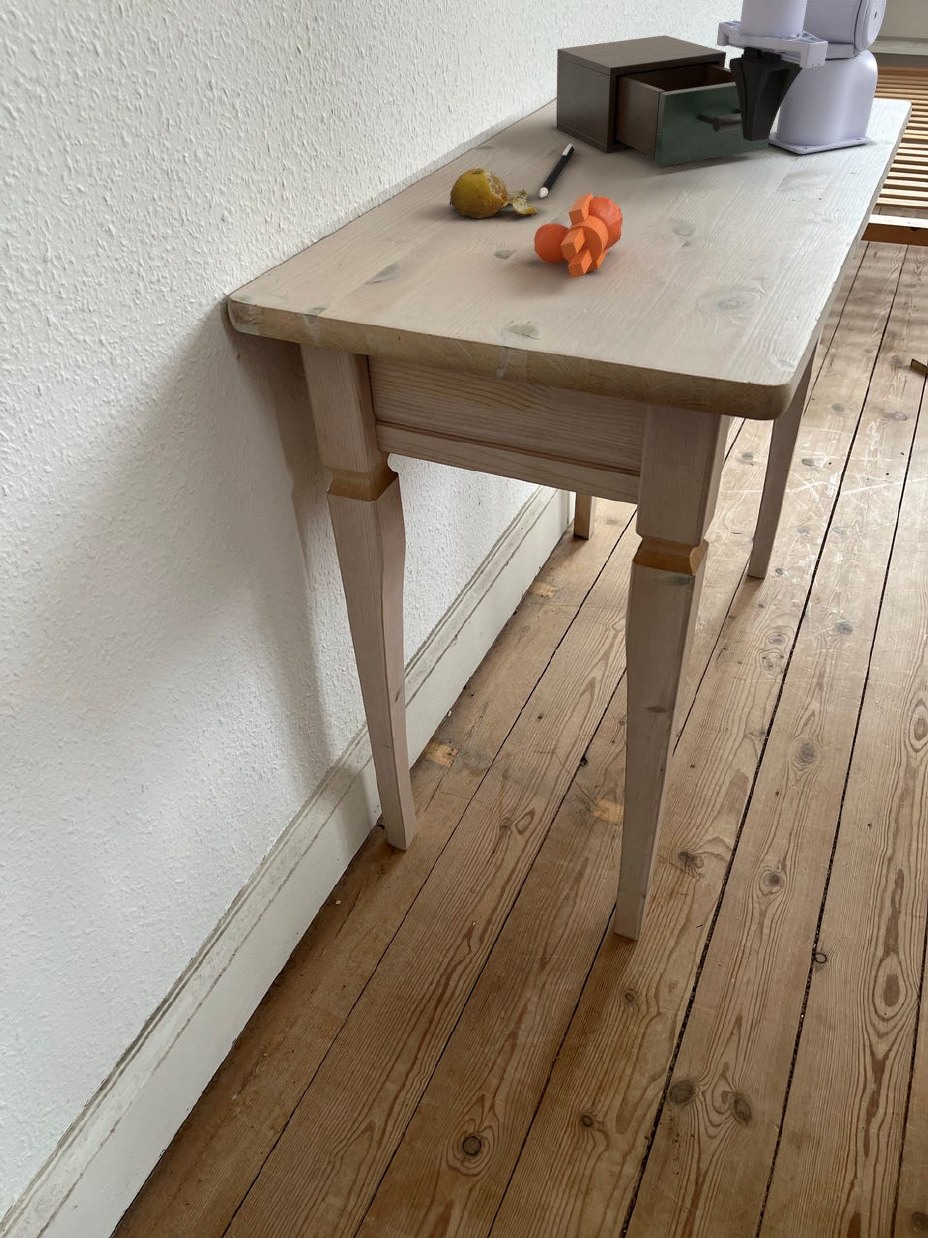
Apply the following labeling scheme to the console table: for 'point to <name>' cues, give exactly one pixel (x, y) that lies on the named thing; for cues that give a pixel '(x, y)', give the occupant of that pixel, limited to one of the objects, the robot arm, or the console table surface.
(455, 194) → the fruit
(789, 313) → the console table surface
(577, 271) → the orange chunky figure
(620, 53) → the cabinet
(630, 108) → the drawer
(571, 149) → the pen
